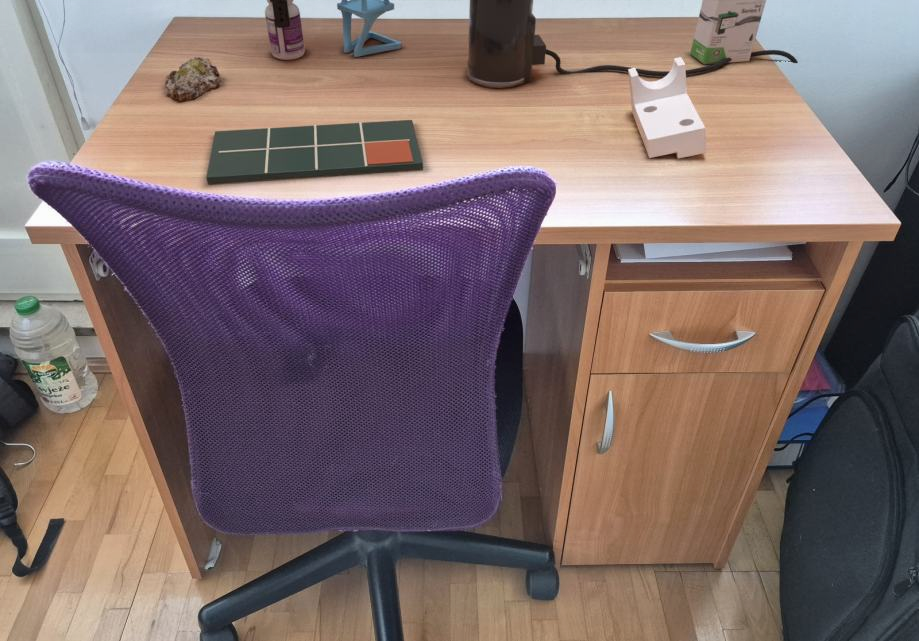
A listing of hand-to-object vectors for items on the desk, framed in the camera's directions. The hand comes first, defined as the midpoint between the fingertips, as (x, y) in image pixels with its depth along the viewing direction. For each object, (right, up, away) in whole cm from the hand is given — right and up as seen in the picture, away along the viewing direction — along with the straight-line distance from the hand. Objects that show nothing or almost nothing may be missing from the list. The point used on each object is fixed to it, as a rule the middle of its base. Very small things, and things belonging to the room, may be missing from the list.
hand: (283, 19), depth 114 cm
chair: (+13, -2, +6) cm, 14 cm away
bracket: (+55, -22, -16) cm, 61 cm away
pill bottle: (0, -4, +4) cm, 6 cm away
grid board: (+9, -26, -21) cm, 35 cm away
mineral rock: (-12, -13, -6) cm, 19 cm away
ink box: (+71, -4, +6) cm, 71 cm away
